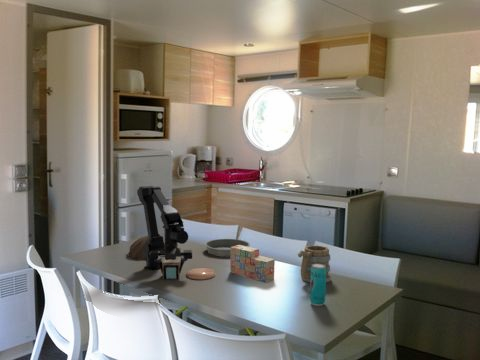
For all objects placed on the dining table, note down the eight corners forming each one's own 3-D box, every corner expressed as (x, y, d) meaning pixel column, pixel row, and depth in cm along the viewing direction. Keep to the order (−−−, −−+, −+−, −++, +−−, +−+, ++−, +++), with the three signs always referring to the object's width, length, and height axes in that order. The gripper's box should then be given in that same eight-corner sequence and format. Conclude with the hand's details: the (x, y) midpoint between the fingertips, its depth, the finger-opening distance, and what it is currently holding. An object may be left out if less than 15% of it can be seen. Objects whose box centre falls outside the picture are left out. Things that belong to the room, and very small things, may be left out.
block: (166, 278, 208) (166, 267, 207) (166, 275, 212) (166, 264, 211) (176, 278, 208) (176, 267, 208) (176, 275, 212) (176, 264, 212)
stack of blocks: (274, 279, 208) (275, 252, 207) (265, 282, 203) (266, 255, 202) (238, 269, 222) (239, 244, 221) (229, 272, 218) (230, 246, 216)
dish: (181, 276, 210) (181, 273, 210) (197, 269, 222) (197, 266, 222) (205, 281, 204) (205, 278, 204) (220, 273, 215) (220, 270, 215)
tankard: (313, 272, 218) (313, 241, 216) (336, 279, 209) (337, 246, 207) (285, 282, 204) (285, 248, 202) (308, 289, 195) (309, 254, 193)
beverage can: (308, 301, 181) (309, 263, 180) (322, 300, 182) (324, 263, 180) (311, 306, 176) (312, 267, 174) (326, 306, 176) (328, 267, 175)
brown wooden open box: (162, 279, 206) (162, 264, 205) (163, 274, 213) (163, 259, 212) (179, 279, 207) (179, 263, 206) (179, 274, 214) (179, 259, 213)
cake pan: (250, 258, 242) (250, 249, 242) (202, 257, 243) (202, 249, 242) (249, 246, 267) (250, 238, 266) (206, 245, 267) (206, 238, 267)
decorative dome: (156, 248, 261) (156, 230, 260) (171, 256, 244) (171, 237, 243) (122, 252, 250) (122, 234, 249) (136, 261, 234) (136, 242, 233)
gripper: (148, 244, 199) (148, 279, 201) (192, 243, 201) (192, 278, 203) (150, 238, 210) (150, 271, 212) (192, 237, 212) (192, 270, 214)
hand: (171, 273), depth 210 cm, fingers closed on brown wooden open box, 7 cm apart
